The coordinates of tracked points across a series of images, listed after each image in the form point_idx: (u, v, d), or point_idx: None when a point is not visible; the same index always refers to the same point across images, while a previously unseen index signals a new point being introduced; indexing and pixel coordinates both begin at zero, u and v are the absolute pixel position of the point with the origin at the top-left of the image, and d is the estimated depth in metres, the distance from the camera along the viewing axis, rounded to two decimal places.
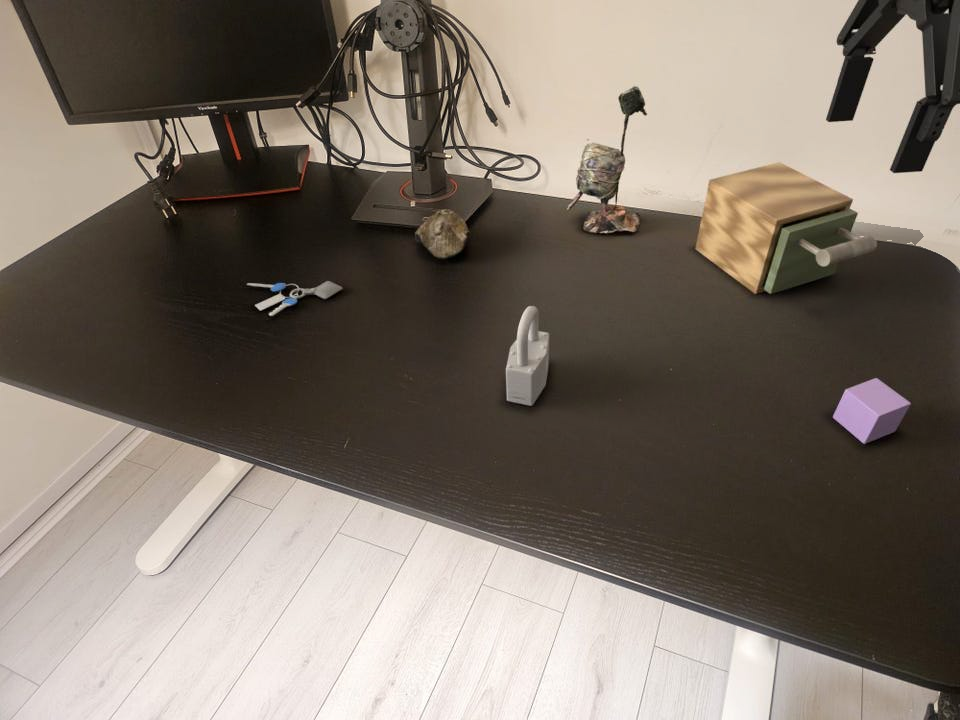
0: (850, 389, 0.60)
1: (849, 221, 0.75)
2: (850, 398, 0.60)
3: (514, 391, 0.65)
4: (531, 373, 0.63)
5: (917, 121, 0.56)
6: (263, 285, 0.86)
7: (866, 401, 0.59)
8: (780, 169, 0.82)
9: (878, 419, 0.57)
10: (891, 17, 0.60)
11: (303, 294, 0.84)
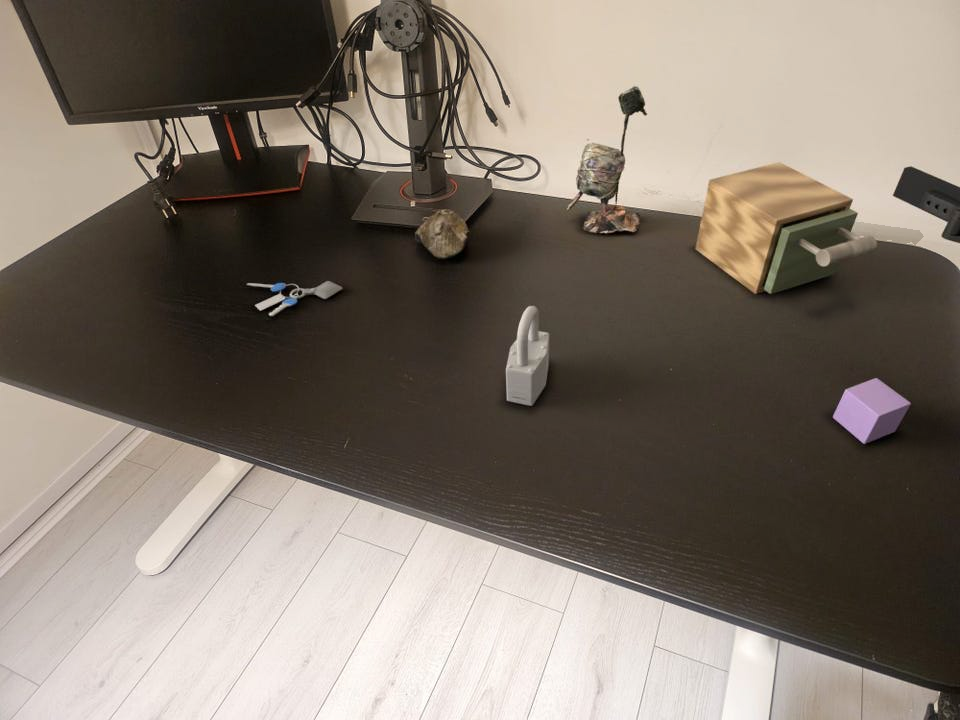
0: (850, 389, 0.60)
1: (849, 221, 0.75)
2: (850, 398, 0.60)
3: (514, 391, 0.65)
4: (531, 373, 0.63)
5: None
6: (263, 285, 0.86)
7: (866, 401, 0.59)
8: (780, 169, 0.82)
9: (878, 419, 0.57)
10: None
11: (303, 294, 0.84)
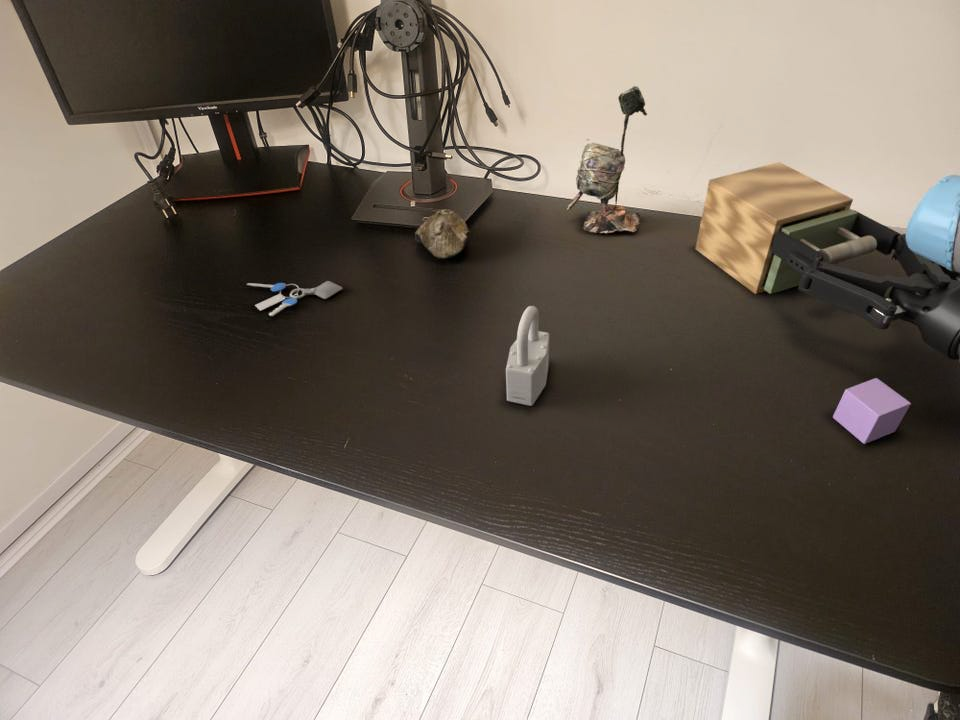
0: (850, 389, 0.60)
1: (849, 221, 0.75)
2: (850, 398, 0.60)
3: (514, 391, 0.65)
4: (531, 373, 0.63)
5: None
6: (263, 285, 0.86)
7: (866, 401, 0.59)
8: (780, 169, 0.82)
9: (878, 419, 0.57)
10: None
11: (303, 294, 0.84)
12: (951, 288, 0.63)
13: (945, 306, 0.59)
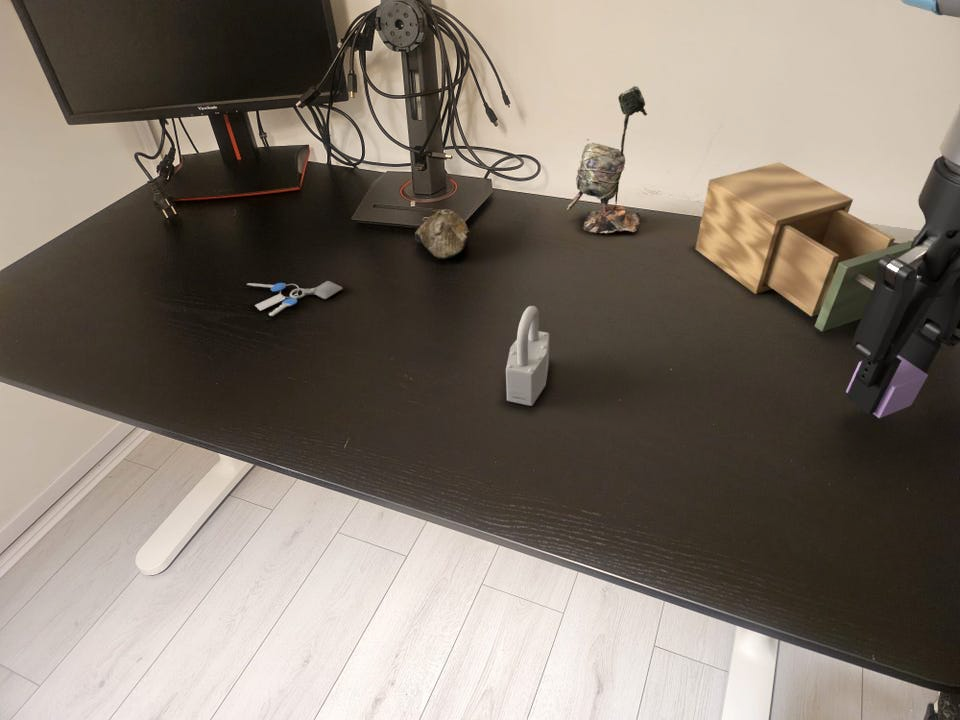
0: None
1: None
2: None
3: (514, 391, 0.65)
4: (531, 373, 0.63)
5: None
6: (263, 285, 0.86)
7: None
8: (780, 169, 0.82)
9: (894, 391, 0.55)
10: None
11: (303, 294, 0.84)
12: None
13: (922, 199, 0.47)
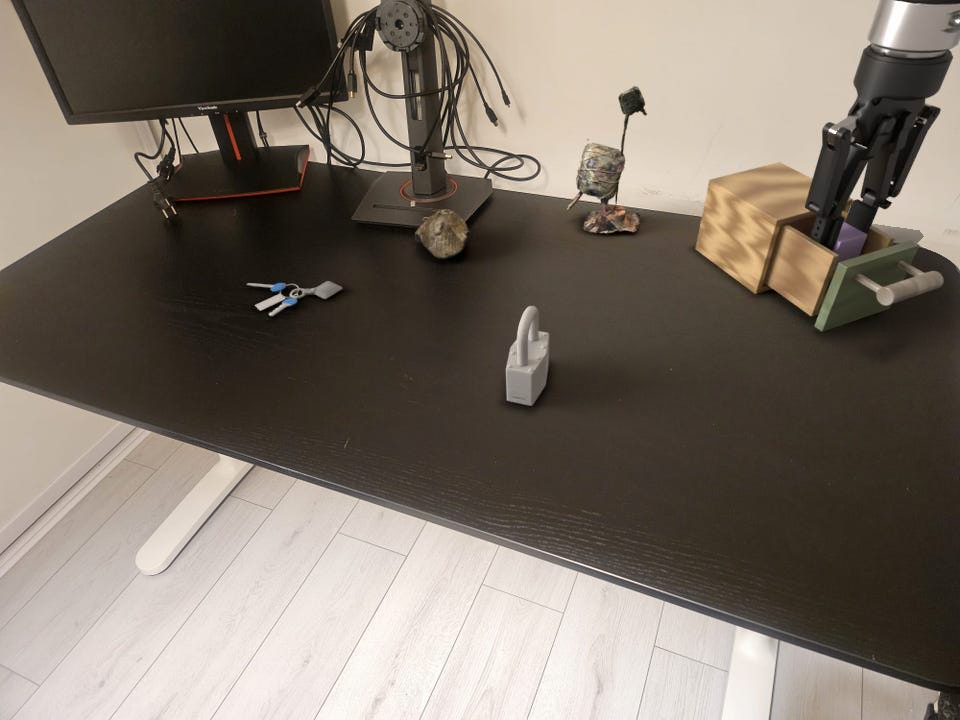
0: None
1: (910, 253, 0.68)
2: None
3: (514, 391, 0.65)
4: (531, 373, 0.63)
5: None
6: (263, 285, 0.86)
7: None
8: (780, 169, 0.82)
9: (840, 246, 0.70)
10: None
11: (303, 294, 0.84)
12: None
13: (855, 78, 0.61)
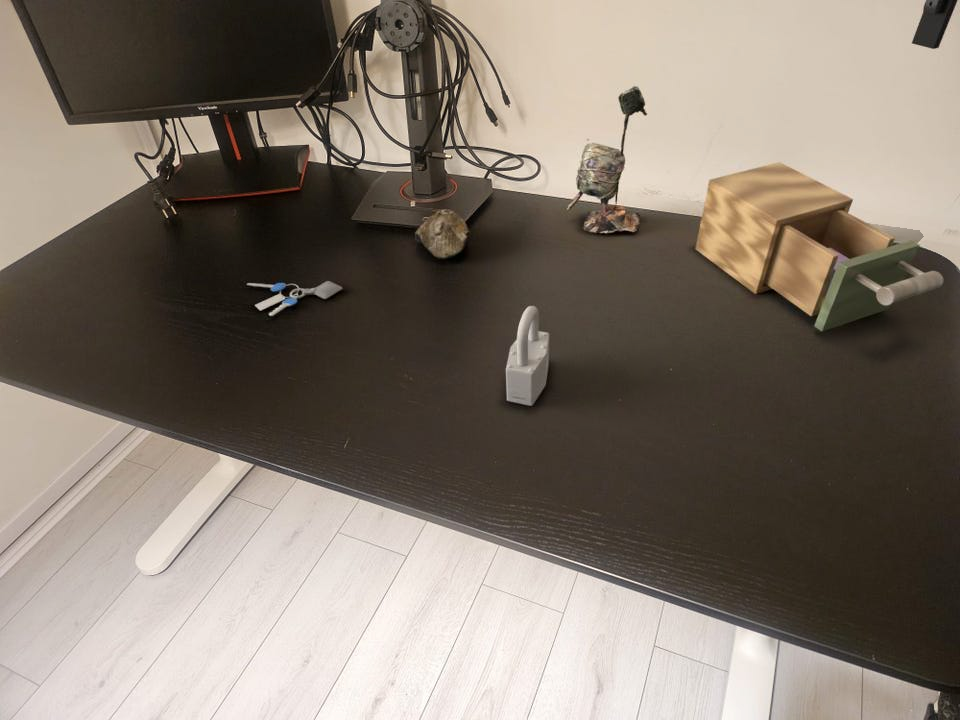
0: None
1: (909, 253, 0.68)
2: None
3: (514, 391, 0.65)
4: (531, 373, 0.63)
5: None
6: (263, 285, 0.86)
7: None
8: (780, 169, 0.82)
9: None
10: None
11: (303, 294, 0.84)
12: None
13: None
